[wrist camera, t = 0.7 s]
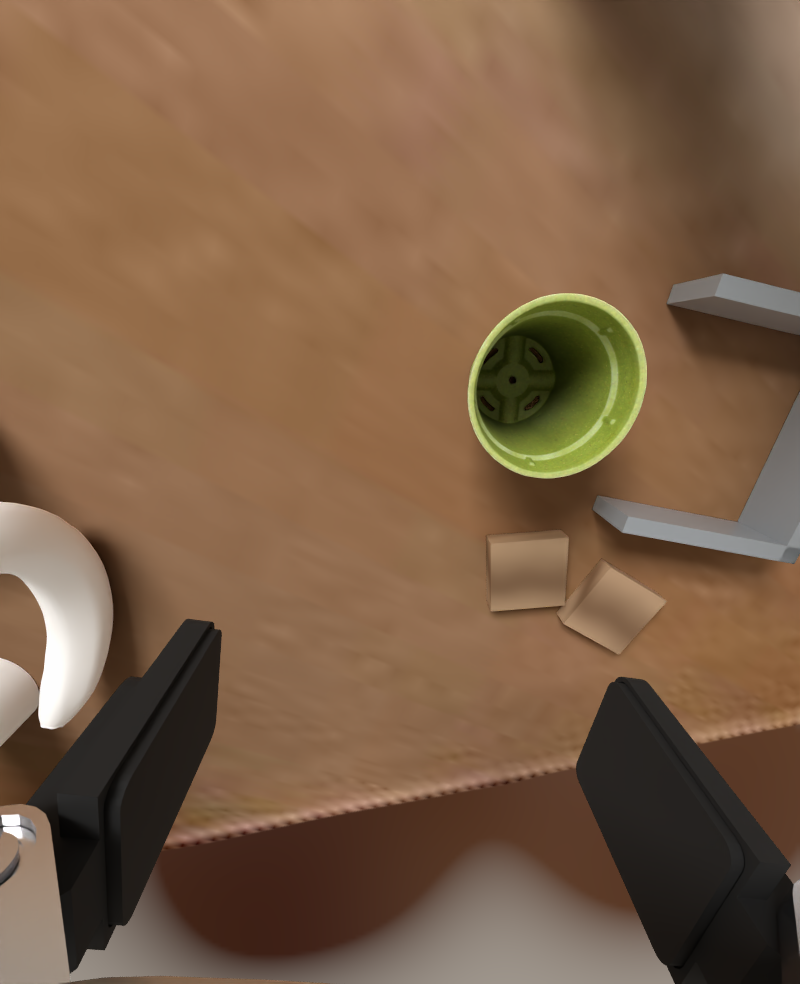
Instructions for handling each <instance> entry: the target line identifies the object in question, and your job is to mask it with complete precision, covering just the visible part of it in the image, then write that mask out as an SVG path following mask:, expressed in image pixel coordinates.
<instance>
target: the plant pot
mask: <svg viewBox="0 0 800 984" xmlns="http://www.w3.org/2000/svg"><path fill="white" fill-rule="evenodd" d="M495 348H497V349H498V352H497V353H495V354H494V355H493V356H492V357H491V358H490V359H489V360H488V361H486V363H485V364H483V362H484V360H485V358H486V356H487V355H488V353H489V352H490V351H491V350H492V349H495ZM530 348H534V349H536V350H537V351H538V352H539V353H540V354H541V356H542V358H543V362H542V363H540V362H539V361H538V359H537V358H536V356H535V355H534V354H533V353H532V352H531V351H530V350H529V349H530ZM510 377H515V378H516V382H515V383H514V384H511V383H510V382H509V378H510ZM646 382H647V364H646V358H645V353H644V349H643V346H642V343H641V340H640V338H639V336H638V334H637V332H636V330H635V329H634V328H633V326H632V325H631V323H630V322H629V321H628V320H627V319H626V318H625V316H624V315H623V314H622V313H621V312H619V311H618V310H617V309H616V308H614V307H613V306H611V305H610V304H608V303H606V302H604V301H602V300H599V299H597V298H594V297H590V296H587V295H582V294H553V295H548V296H544V297H541V298H538V299H535V300H533V301H531V302H528V303H526V304H525V305H523V306H521V307H519V308H518V309H516V310H514V311H513V312H512V313H510V314H509V315H508V316H506V317H505V318H504V319H503V320H502V321H501V322H500V323H499V324H498V325H497V326H496V327H495V328H494V329H493V330H492V331H491V333H490V334H489V335H488V337H487V338H486V340H485V341H484V343H483V344H482V346H481V348H480V350H479V352H478V354H477V356H476V358H475V360H474V362H473V364H472V367H471V371H470V376H469V384H468V398H467V402H468V411H469V416H470V420H471V424H472V427H473V429H474V432H475V434H476V436H477V438H478V440H479V441H480V443H481V444H482V446H483V447H484V448H485V450H486V451H487V452H488V453H489V454H490V455H491V456H492V457H493V458H494V459H495V460H496V461H497V462H498V463H500V464H501V465H503V466H504V467H506V468H508V469H509V470H511V471H514V472H516V473H518V474H521V475H524V476H528V477H535V478H558V477H564V476H569V475H572V474H575V473H578V472H581V471H583V470H585V469H587V468H589V467H591V466H593V465H594V464H596V463H598V462H599V461H601V460H602V459H603V458H604V457H605V456H607V455H608V454H609V453H610V452H611V451H612V450H613V449H614V448H615V447H616V446H617V445H618V444H619V443H620V442H621V441H622V440H623V438H624V437H625V436H626V435H627V433H628V432H629V430H630V428H631V427H632V425H633V423H634V421H635V419H636V417H637V415H638V413H639V411H640V408H641V405H642V402H643V398H644V394H645V390H646ZM481 396H484V398H485V399H486V400H487V402H488V403H489V404H490V405H491V406H492V407H494V411H490V410H489V409H488V408H487V406H484V405H483V404H482V402H481V400H480V398H481ZM536 396H540V397H539V398H540V399H539V401H538V402H537V404H536V405H534V406H533V407H532V408H531V409H529V410H524V407H525V406H527V405H528V404H529V403H531V402H532V401H533V400H534V398H535V397H536Z"/></svg>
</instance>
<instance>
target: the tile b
mask: <svg viewBox="0 0 800 984" xmlns="http://www.w3.org/2000/svg"><path fill="white" fill-rule="evenodd" d="M666 602H667V601H666V600H665V599H664V598H663V597H662V596H660V595H659V594H658V593H657V592H656V591H655V590H653V589H651V588H650V587H648V586H646V585H645V584H643V583H641V582H640V581H638V580H636V579H635V578H633V577H631V576H630V575H628V574H626V573H625V572H623V571H621V570H620V569H618V568H616V567H615V566H613V565H611V564H610V563H608V562H606V561H605V560H603V559H600V561H599V562H598V563H597V564H596V566H595V567H594V568H593V569H592V570H591V572H590V573H589V574H588V575H587V576H586V578H585V579H584V580H583V581H582V582H581V584H580V585H579V586H578V587H577V589H576V590H575V591H574V592H573V593H572V595H571V596H570V597H569V598H568V599H567V601H566V602H565V605H564V606H562V607H561V608H560V609H559V610H558V612H557V615H558V616H559V618H560V619H561V621H562V622H563V624H565V625H566V626H568V627H570V628H572V629H574V630H575V631H577V632H579V633H581V634H583V635H584V636H586V637H588V638H590V639H592V640H593V641H595V642H597V643H599V644H601V645H602V646H604V647H606V648H608V649H610V650H611V651H613V652H615V653H617V654H620V653H621V652H622V651H623V650H624V649H625V647H626V646H627V645H628V644H629V643H630V642H631V641H632V640H633V639H634V637H635V636H636V635H637V634H638V633H639V632H640V631H641V630H642V629H643V627H644V626H645V625H646V624H647V623H648V622H649V621H650V620H651V619H652V617H653V616H654V615H655V614H656V613H657V612H658V611H659V610H660V609H661V607H662V606H663V605H664V604H665V603H666Z"/></svg>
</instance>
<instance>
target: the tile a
mask: <svg viewBox="0 0 800 984" xmlns="http://www.w3.org/2000/svg"><path fill="white" fill-rule="evenodd" d="M568 544H569V537H568V536H567V535H566V534H565V533H564V532H563V531H562V530H561V529H560V530H547V531H534V532H521V533H508V534H495V535H486V601H487V603H488V606H489V608H490V610H491V611H503V610H515V609H527V608H540V607H552V606H564V605H565V594H566V577H567V561H568Z"/></svg>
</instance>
